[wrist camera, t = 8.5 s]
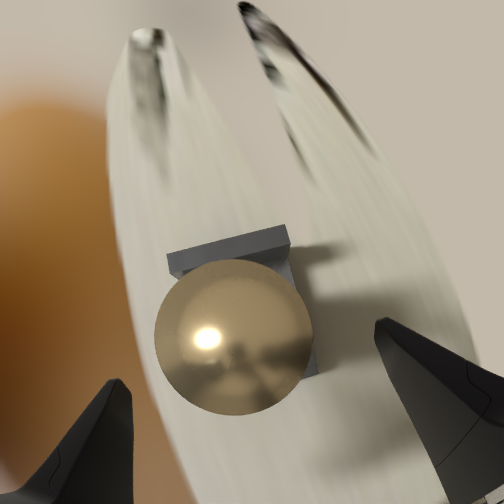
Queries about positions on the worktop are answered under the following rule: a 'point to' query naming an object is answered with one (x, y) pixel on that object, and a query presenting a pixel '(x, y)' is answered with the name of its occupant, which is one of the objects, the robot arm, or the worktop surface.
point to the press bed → (242, 248)
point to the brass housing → (233, 337)
